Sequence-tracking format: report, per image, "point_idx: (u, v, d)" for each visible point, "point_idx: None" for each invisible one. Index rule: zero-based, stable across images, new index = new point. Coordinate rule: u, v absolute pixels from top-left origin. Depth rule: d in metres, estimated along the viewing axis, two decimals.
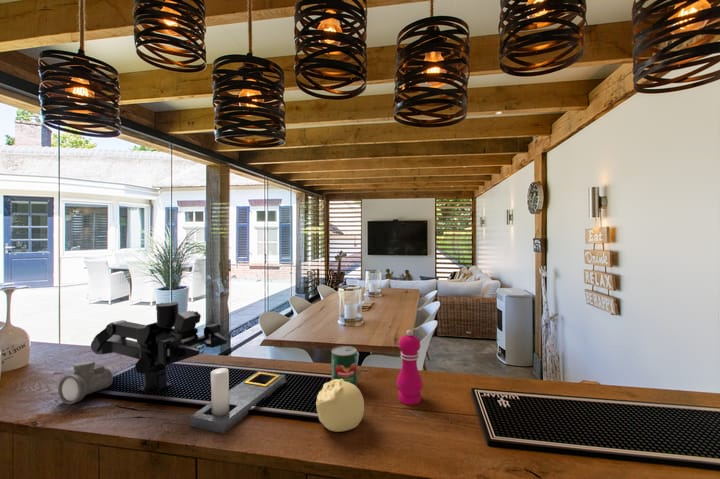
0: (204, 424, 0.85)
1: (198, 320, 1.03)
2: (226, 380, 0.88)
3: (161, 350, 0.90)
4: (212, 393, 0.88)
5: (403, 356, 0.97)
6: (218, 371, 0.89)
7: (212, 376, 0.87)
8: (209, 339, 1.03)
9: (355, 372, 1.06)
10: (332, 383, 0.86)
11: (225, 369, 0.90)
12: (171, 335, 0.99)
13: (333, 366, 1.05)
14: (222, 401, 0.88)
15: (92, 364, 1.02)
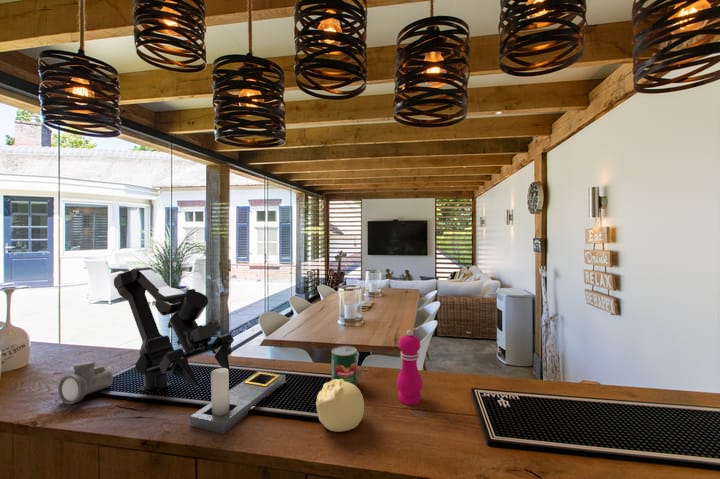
0: (204, 424, 0.85)
1: (216, 332, 0.95)
2: (226, 380, 0.88)
3: (165, 363, 0.85)
4: (212, 393, 0.88)
5: (403, 356, 0.97)
6: (218, 371, 0.89)
7: (212, 376, 0.87)
8: (217, 349, 0.98)
9: (355, 372, 1.06)
10: (332, 383, 0.86)
11: (225, 369, 0.90)
12: (184, 333, 0.93)
13: (333, 366, 1.05)
14: (222, 401, 0.88)
15: (92, 364, 1.02)
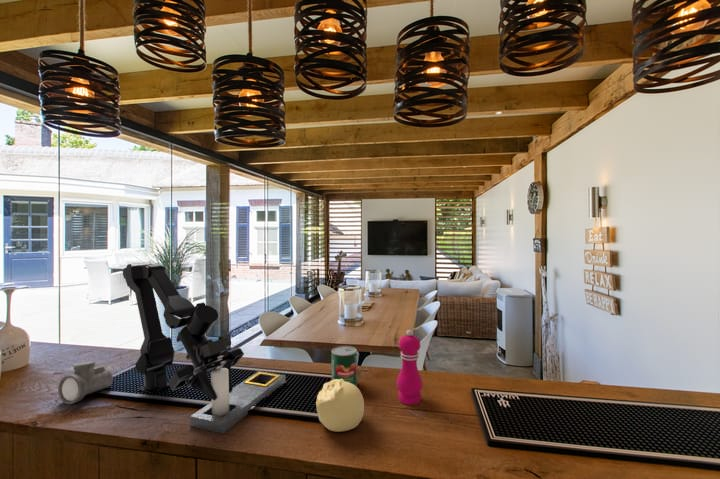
0: (204, 424, 0.85)
1: (226, 346, 0.93)
2: (226, 380, 0.88)
3: (175, 380, 0.83)
4: None
5: (403, 356, 0.97)
6: (218, 371, 0.89)
7: (212, 376, 0.87)
8: (219, 367, 0.94)
9: (355, 372, 1.06)
10: (332, 383, 0.86)
11: (225, 369, 0.90)
12: (194, 348, 0.90)
13: (333, 366, 1.05)
14: (222, 401, 0.88)
15: (92, 364, 1.02)
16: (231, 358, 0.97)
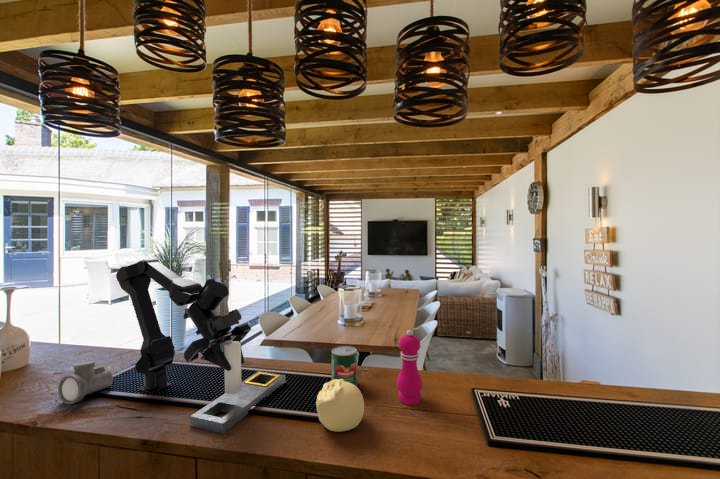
0: (204, 424, 0.85)
1: None
2: (239, 352, 0.92)
3: (192, 351, 0.85)
4: None
5: (403, 356, 0.97)
6: (231, 344, 0.92)
7: (226, 348, 0.90)
8: (228, 341, 0.97)
9: (355, 372, 1.06)
10: (332, 383, 0.86)
11: (237, 342, 0.93)
12: (205, 323, 0.93)
13: (333, 366, 1.05)
14: (236, 371, 0.91)
15: (92, 364, 1.02)
16: (239, 333, 1.00)
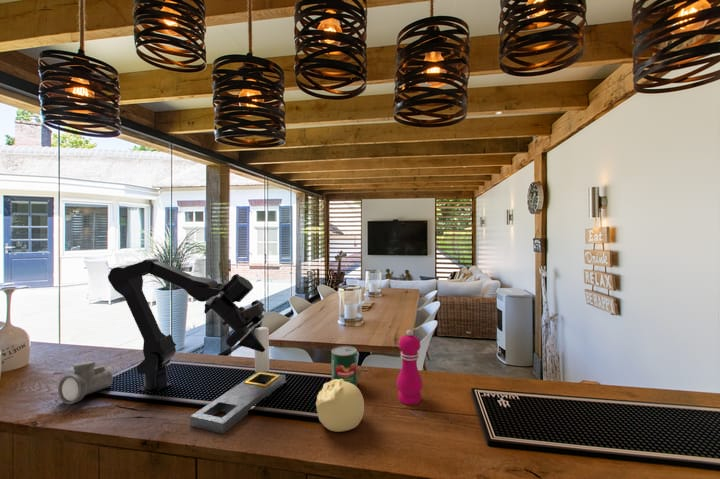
0: (204, 424, 0.85)
1: None
2: (268, 335, 1.06)
3: (238, 337, 0.96)
4: None
5: (403, 356, 0.97)
6: (260, 329, 1.06)
7: (259, 333, 1.04)
8: (250, 329, 1.09)
9: (355, 372, 1.06)
10: (332, 383, 0.86)
11: (263, 327, 1.07)
12: (235, 314, 1.03)
13: (333, 366, 1.05)
14: (267, 352, 1.05)
15: (92, 364, 1.02)
16: (254, 322, 1.12)
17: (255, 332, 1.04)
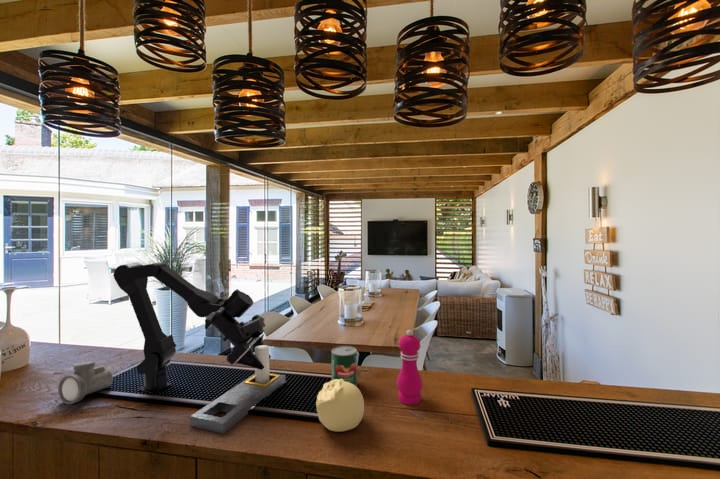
0: (204, 424, 0.85)
1: None
2: None
3: (238, 354, 0.97)
4: None
5: (403, 356, 0.97)
6: (260, 347, 1.06)
7: (259, 351, 1.04)
8: (252, 342, 1.11)
9: (355, 372, 1.06)
10: (332, 383, 0.86)
11: (264, 345, 1.08)
12: (235, 329, 1.03)
13: (333, 366, 1.05)
14: (267, 370, 1.05)
15: (92, 364, 1.02)
16: (255, 336, 1.13)
17: (255, 351, 1.05)
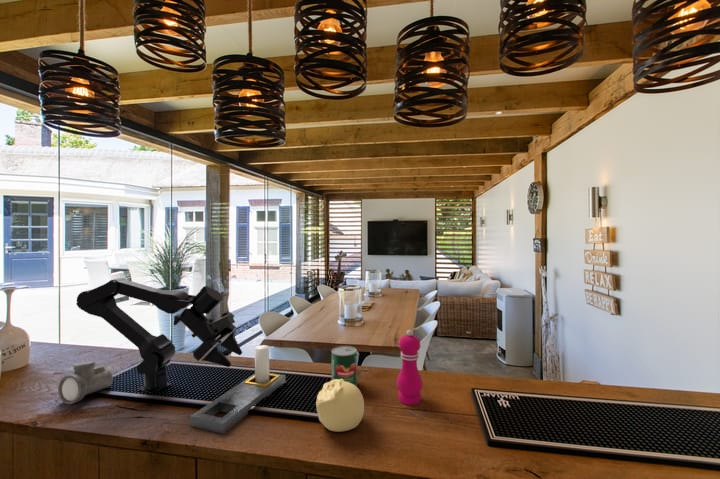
0: (204, 424, 0.85)
1: None
2: None
3: (205, 350, 0.97)
4: (259, 366, 1.04)
5: (403, 356, 0.97)
6: (260, 347, 1.06)
7: (259, 351, 1.04)
8: (223, 338, 1.11)
9: (355, 372, 1.06)
10: (332, 383, 0.86)
11: (264, 345, 1.08)
12: (204, 325, 1.04)
13: (333, 366, 1.05)
14: (267, 370, 1.05)
15: (92, 364, 1.02)
16: (226, 332, 1.13)
17: (255, 351, 1.05)
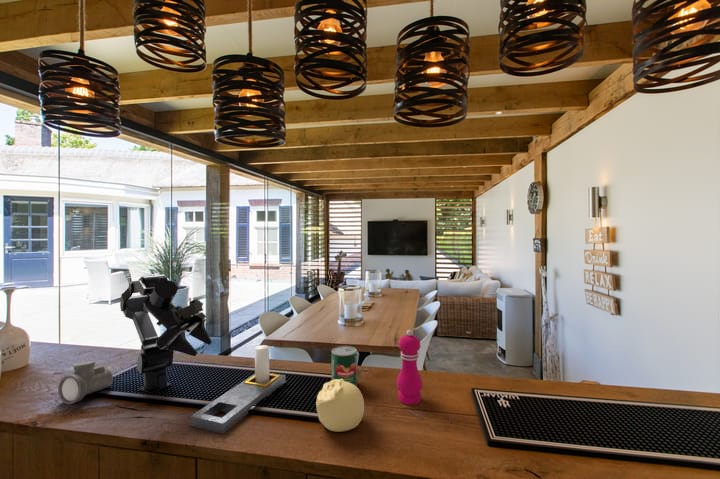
0: (204, 424, 0.85)
1: None
2: None
3: (168, 338, 0.93)
4: (259, 366, 1.04)
5: (403, 356, 0.97)
6: (260, 347, 1.06)
7: (259, 351, 1.04)
8: (192, 327, 1.07)
9: (355, 372, 1.06)
10: (332, 383, 0.86)
11: (264, 345, 1.08)
12: (169, 313, 0.99)
13: (333, 366, 1.05)
14: (267, 370, 1.05)
15: (92, 364, 1.02)
16: (195, 321, 1.09)
17: (255, 351, 1.05)
